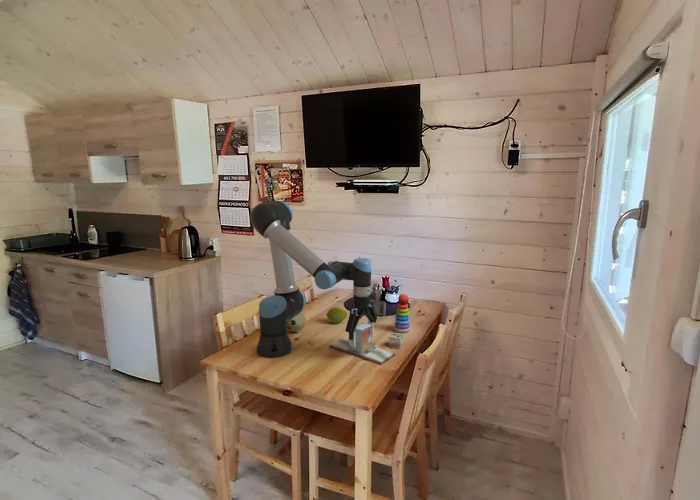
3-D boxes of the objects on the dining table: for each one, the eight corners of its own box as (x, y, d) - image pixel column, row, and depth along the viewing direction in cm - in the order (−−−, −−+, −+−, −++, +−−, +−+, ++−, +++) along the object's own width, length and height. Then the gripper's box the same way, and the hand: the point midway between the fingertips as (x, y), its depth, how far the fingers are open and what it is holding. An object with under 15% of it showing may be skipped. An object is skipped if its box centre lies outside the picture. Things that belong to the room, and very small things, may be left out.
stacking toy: (391, 331, 204) (392, 295, 200) (397, 326, 211) (398, 290, 207) (406, 334, 200) (407, 297, 197) (412, 328, 207) (413, 293, 204)
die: (399, 348, 185) (400, 338, 184) (389, 347, 187) (389, 336, 186) (402, 344, 190) (403, 334, 189) (392, 342, 192) (392, 332, 191)
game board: (381, 364, 170) (381, 362, 170) (329, 346, 187) (329, 344, 187) (395, 355, 179) (395, 353, 179) (344, 338, 196) (344, 336, 195)
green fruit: (324, 324, 213) (324, 309, 212) (328, 318, 221) (328, 304, 219) (344, 326, 211) (344, 311, 209) (348, 320, 218) (348, 306, 216)
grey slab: (364, 313, 230) (364, 296, 228) (367, 311, 232) (367, 295, 230) (383, 317, 224) (383, 300, 222) (385, 315, 227) (385, 298, 225)
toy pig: (278, 334, 201) (277, 313, 199) (292, 325, 211) (292, 305, 209) (295, 338, 196) (294, 316, 194) (309, 329, 207) (308, 308, 205)
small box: (361, 353, 178) (361, 330, 176) (351, 350, 181) (351, 327, 179) (372, 347, 184) (372, 324, 182) (362, 343, 188) (362, 322, 185)
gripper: (351, 303, 166) (351, 353, 170) (385, 289, 185) (384, 333, 189) (336, 300, 170) (337, 348, 175) (371, 286, 189) (371, 329, 194)
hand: (361, 340), depth 182 cm, fingers open, 13 cm apart
